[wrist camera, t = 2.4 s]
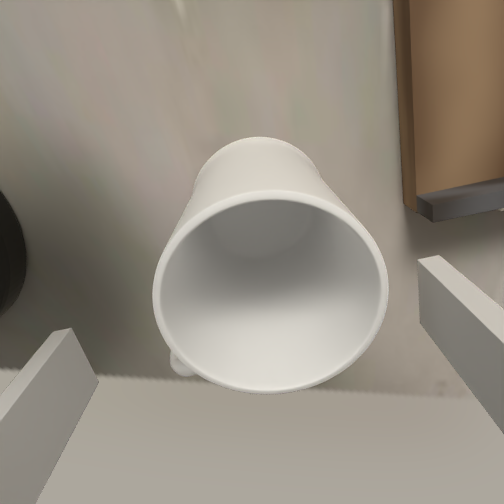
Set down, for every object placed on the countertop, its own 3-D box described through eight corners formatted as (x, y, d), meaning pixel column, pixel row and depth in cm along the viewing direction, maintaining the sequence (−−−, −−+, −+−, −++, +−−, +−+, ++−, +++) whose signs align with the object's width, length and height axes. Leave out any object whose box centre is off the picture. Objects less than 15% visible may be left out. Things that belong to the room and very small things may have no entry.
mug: (230, 316, 27) (220, 473, 16) (135, 243, 24) (43, 369, 13) (352, 202, 23) (448, 299, 12) (255, 104, 21) (267, 117, 10)
